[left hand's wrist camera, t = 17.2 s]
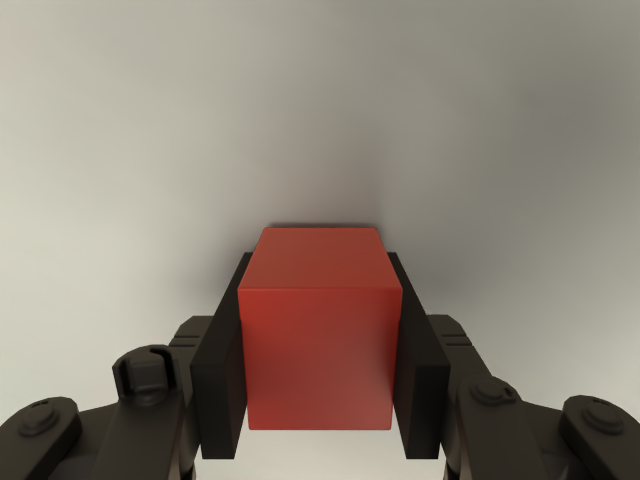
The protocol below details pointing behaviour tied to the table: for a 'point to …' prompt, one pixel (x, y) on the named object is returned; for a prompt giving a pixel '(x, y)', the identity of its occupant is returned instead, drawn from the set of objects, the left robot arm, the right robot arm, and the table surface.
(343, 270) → the brick
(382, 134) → the table surface
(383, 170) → the table surface
